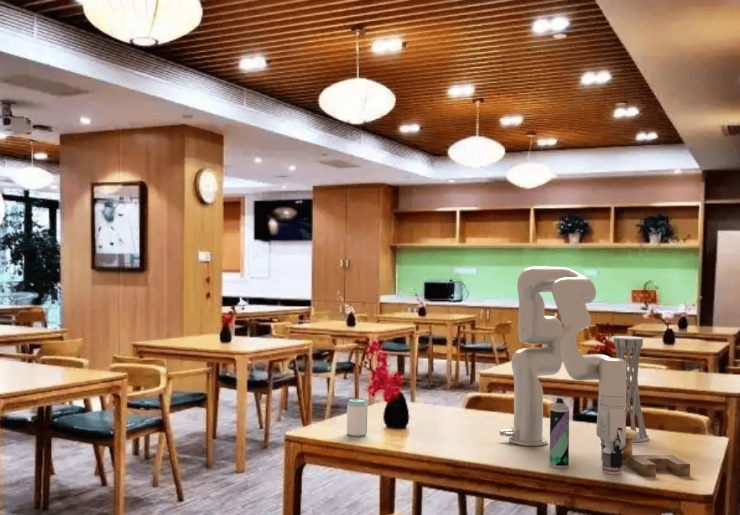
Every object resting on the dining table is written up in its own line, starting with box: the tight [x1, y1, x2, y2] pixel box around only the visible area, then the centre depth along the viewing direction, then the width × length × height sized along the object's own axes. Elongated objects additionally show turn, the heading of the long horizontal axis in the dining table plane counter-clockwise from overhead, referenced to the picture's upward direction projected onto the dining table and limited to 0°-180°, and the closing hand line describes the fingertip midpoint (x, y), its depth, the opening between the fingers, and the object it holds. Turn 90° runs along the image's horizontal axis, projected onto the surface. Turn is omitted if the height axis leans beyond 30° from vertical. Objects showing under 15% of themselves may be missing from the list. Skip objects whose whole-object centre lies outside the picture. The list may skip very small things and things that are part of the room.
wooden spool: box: [616, 428, 638, 466], centre depth 217 cm, size 10×10×9 cm
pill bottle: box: [601, 440, 622, 475], centre depth 204 cm, size 5×5×9 cm
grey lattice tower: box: [613, 335, 650, 443], centre depth 249 cm, size 14×13×35 cm
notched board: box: [626, 454, 691, 478], centre depth 206 cm, size 14×10×4 cm
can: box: [346, 398, 368, 437], centre depth 245 cm, size 7×7×12 cm
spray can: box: [549, 397, 570, 469], centre depth 210 cm, size 6×6×20 cm
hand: (611, 463), depth 204 cm, fingers closed on pill bottle, 5 cm apart
